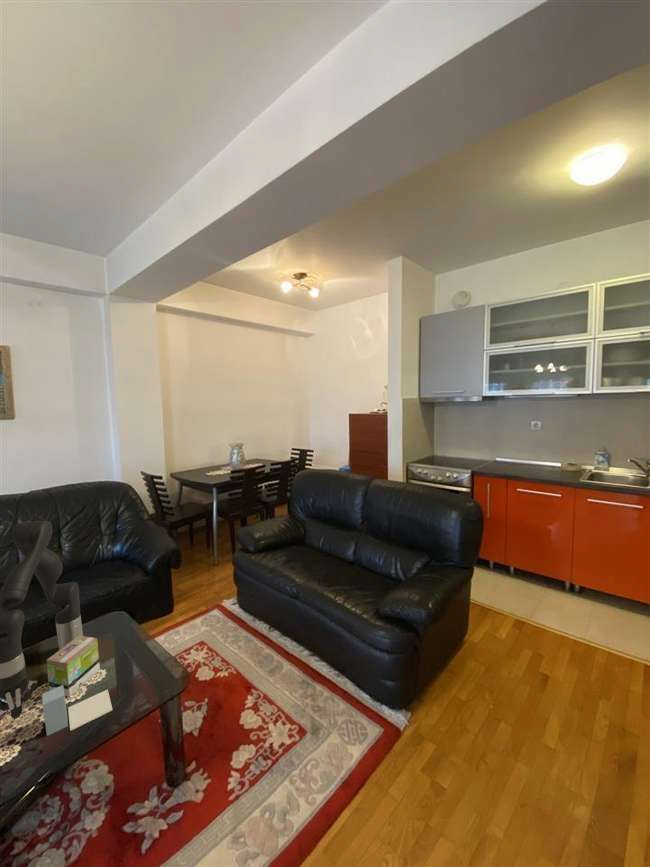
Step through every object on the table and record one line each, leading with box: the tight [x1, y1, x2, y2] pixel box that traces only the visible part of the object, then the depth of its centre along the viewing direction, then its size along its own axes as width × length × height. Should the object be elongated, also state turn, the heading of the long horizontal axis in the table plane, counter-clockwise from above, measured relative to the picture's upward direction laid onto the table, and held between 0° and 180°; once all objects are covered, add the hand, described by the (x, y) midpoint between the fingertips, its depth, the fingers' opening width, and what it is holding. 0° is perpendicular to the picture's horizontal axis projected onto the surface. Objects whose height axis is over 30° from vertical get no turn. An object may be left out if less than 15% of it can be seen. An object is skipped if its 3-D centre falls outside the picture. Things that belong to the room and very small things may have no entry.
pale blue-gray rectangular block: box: [42, 685, 69, 737], centre depth 130 cm, size 6×6×12 cm
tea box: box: [46, 635, 101, 698], centre depth 149 cm, size 15×10×15 cm, turn 168°
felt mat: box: [67, 689, 113, 732], centre depth 136 cm, size 12×13×1 cm
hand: (17, 715), depth 123 cm, fingers closed
